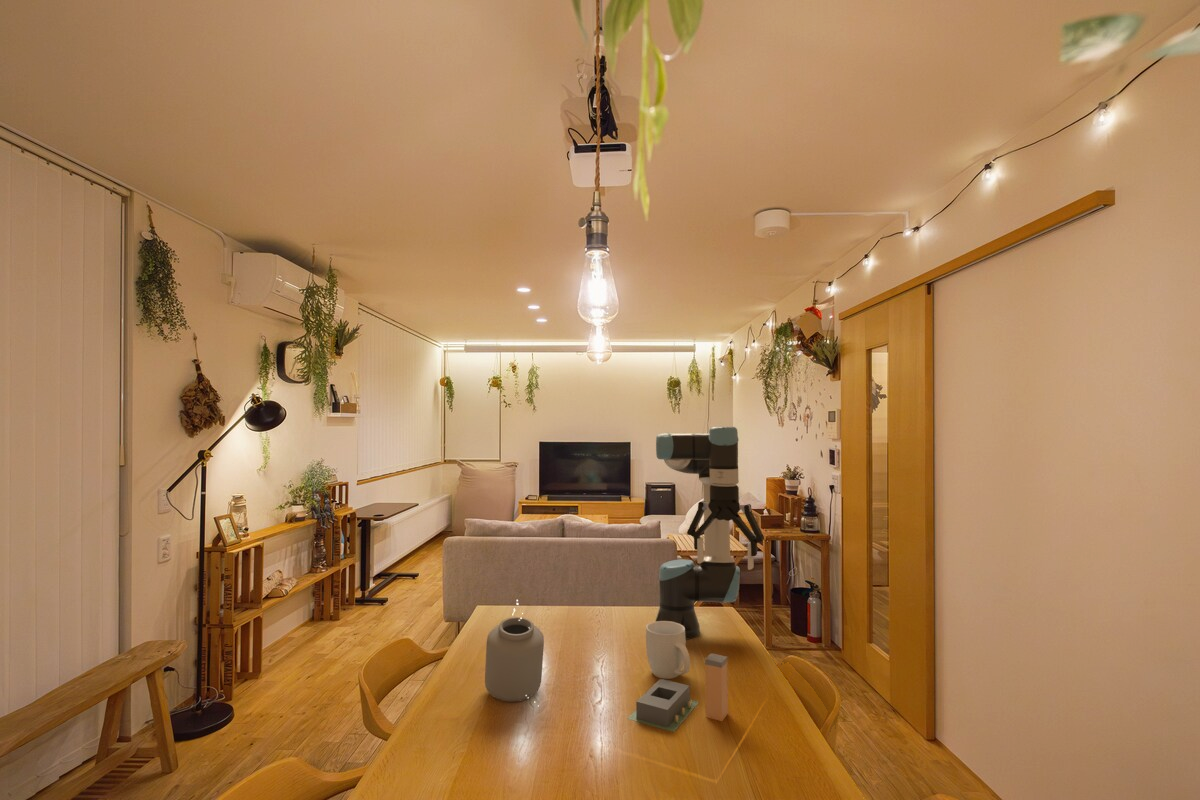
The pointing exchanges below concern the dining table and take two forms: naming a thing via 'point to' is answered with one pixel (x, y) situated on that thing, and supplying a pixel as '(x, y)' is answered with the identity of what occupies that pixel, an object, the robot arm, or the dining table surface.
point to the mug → (667, 649)
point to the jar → (514, 659)
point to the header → (664, 705)
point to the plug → (716, 687)
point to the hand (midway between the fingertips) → (725, 565)
